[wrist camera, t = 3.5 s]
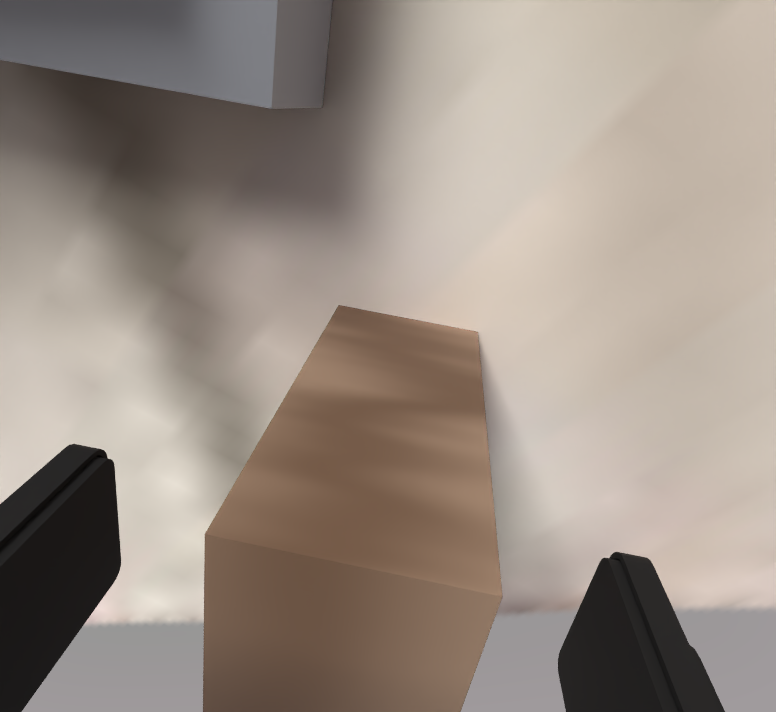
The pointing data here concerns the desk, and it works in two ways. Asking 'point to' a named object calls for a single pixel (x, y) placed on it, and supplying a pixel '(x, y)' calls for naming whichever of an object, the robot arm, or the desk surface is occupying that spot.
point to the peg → (359, 532)
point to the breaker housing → (180, 45)
